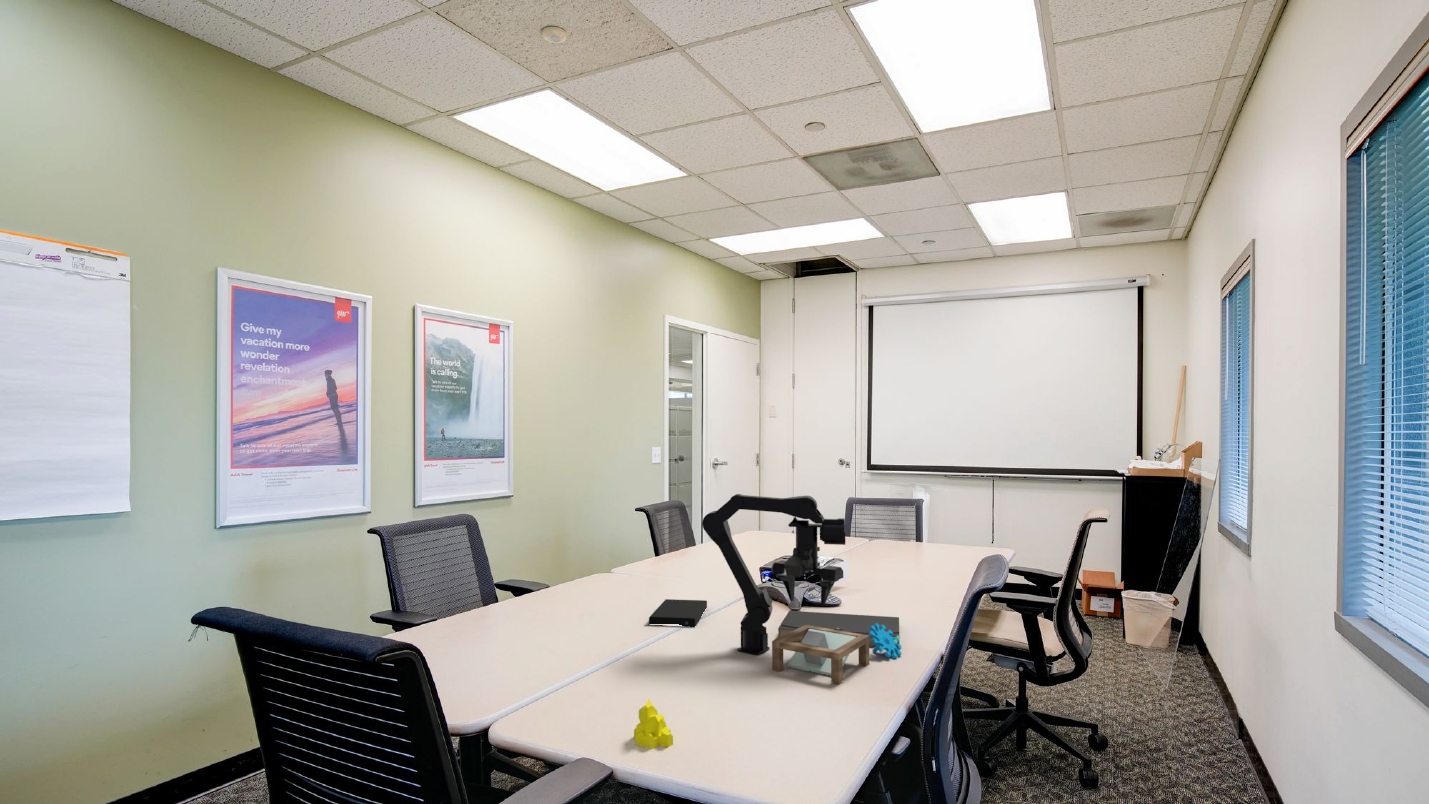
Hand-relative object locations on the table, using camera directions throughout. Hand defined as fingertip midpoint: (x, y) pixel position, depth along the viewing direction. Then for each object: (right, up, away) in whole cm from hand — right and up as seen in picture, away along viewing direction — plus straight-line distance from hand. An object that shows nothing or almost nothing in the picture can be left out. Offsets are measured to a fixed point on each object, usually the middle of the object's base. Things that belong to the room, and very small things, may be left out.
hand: (807, 603), depth 186 cm
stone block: (+1, -10, -13) cm, 16 cm away
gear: (+20, -13, -2) cm, 25 cm away
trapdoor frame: (+2, -12, -12) cm, 17 cm away
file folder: (+12, -15, +19) cm, 27 cm away
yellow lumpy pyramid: (-36, -11, -54) cm, 65 cm away
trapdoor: (+3, -9, -11) cm, 15 cm away
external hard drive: (-36, -16, +37) cm, 54 cm away
